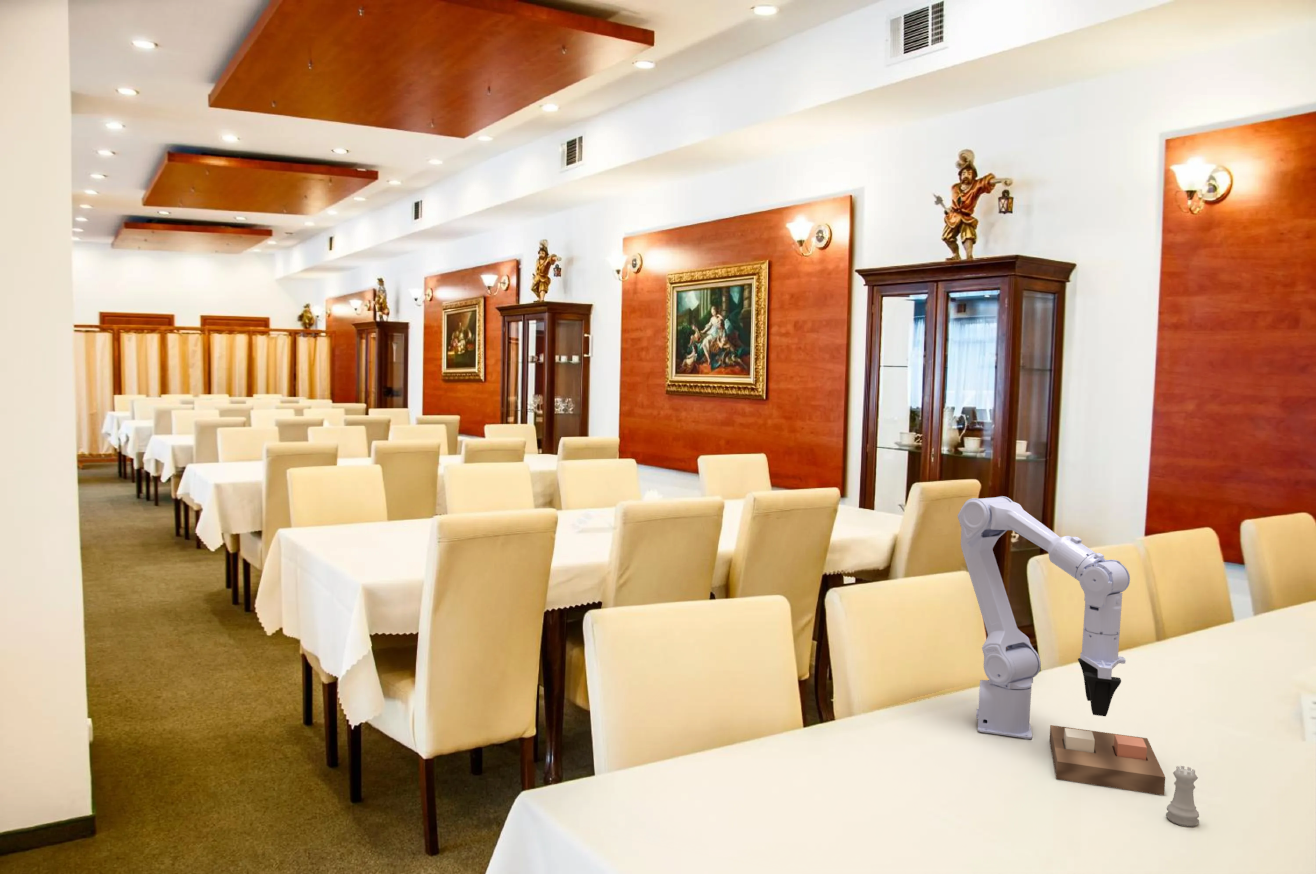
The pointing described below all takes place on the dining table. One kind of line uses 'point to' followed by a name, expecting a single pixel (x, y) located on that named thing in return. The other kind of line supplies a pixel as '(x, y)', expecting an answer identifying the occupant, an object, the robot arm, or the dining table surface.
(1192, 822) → the rook chess piece
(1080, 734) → the ivory key
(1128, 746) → the terracotta key
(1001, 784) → the dining table surface
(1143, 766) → the key panel
